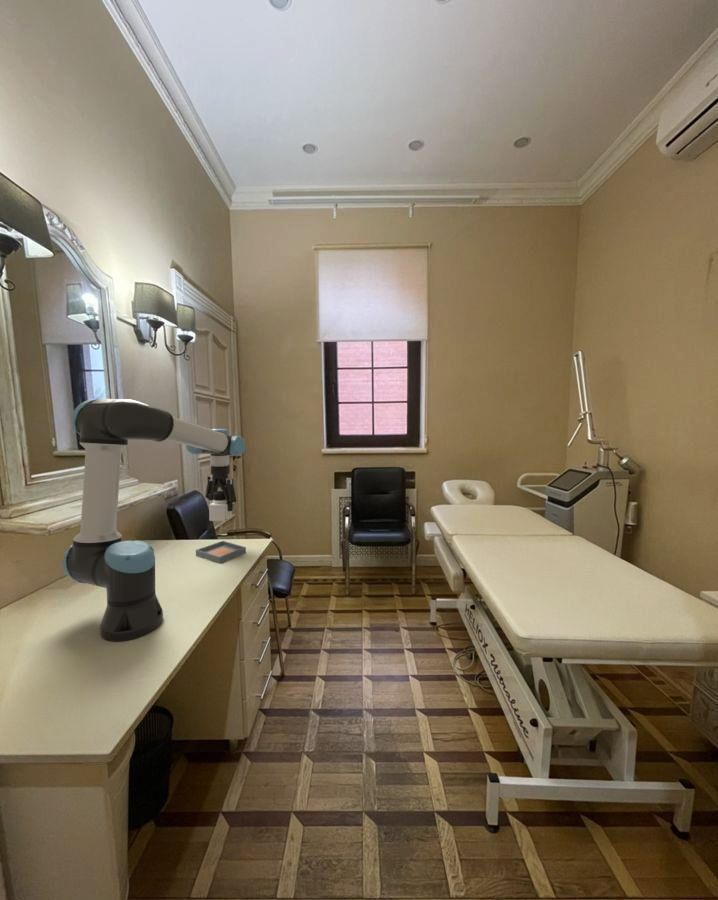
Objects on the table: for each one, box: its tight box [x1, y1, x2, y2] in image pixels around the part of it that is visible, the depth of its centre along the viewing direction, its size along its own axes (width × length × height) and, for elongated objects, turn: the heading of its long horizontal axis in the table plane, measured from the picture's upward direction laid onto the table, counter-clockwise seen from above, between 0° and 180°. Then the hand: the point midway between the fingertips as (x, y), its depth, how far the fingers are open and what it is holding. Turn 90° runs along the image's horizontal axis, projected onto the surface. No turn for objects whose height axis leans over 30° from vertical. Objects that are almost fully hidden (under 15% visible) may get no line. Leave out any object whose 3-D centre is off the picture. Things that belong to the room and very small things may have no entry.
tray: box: [195, 540, 247, 564], centre depth 156 cm, size 14×15×2 cm
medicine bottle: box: [208, 490, 229, 522], centre depth 155 cm, size 7×7×12 cm
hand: (220, 516), depth 155 cm, fingers closed on medicine bottle, 9 cm apart
